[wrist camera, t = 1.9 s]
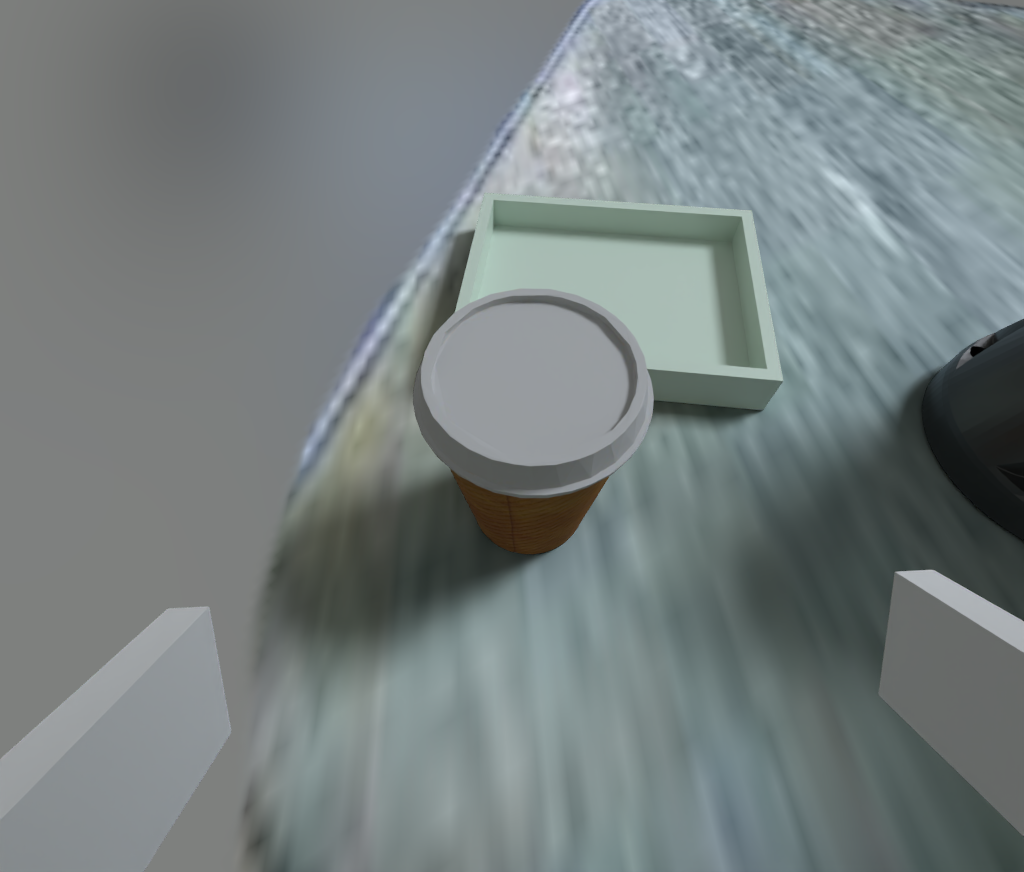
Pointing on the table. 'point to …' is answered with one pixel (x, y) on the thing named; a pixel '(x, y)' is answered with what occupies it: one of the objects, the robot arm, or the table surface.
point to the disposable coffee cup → (532, 410)
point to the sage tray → (644, 285)
